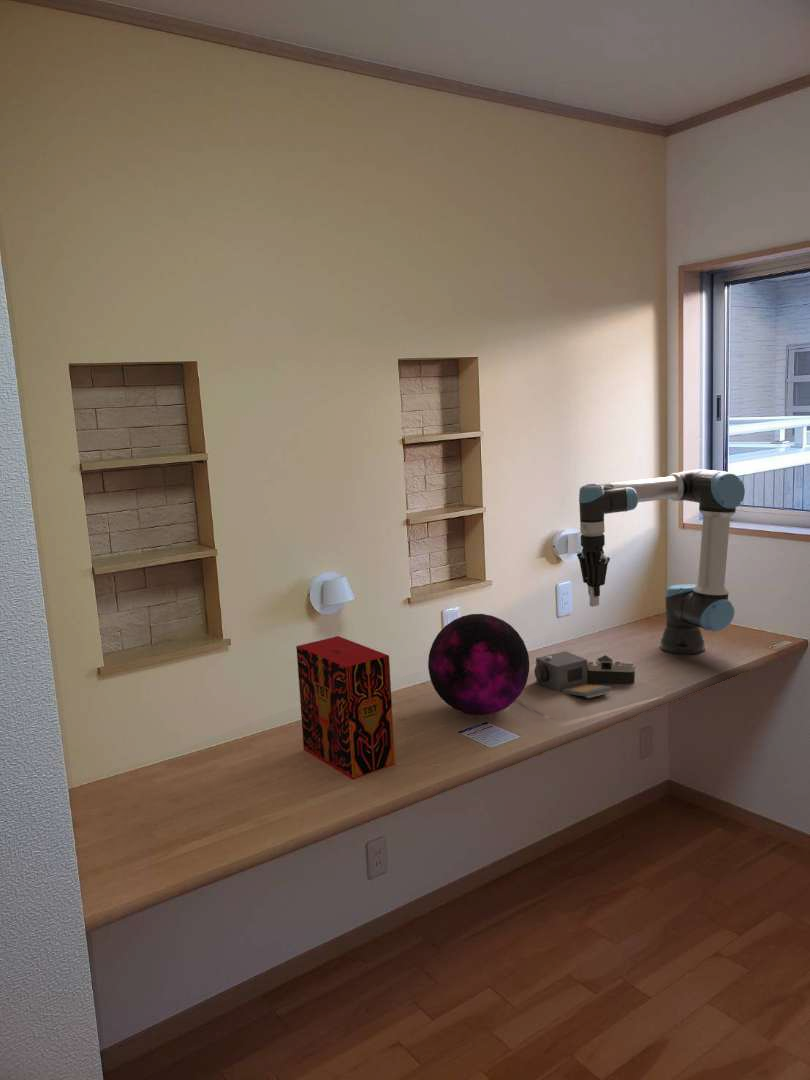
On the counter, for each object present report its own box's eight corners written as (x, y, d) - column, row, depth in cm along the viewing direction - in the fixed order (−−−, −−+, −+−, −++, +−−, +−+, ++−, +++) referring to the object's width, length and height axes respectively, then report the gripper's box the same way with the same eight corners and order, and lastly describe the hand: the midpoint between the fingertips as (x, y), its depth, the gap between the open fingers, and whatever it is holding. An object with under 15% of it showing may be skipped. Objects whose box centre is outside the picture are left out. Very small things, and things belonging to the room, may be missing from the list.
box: (303, 750, 245) (296, 646, 240) (344, 736, 253) (338, 636, 247) (352, 779, 225) (345, 667, 220) (394, 764, 233) (389, 655, 228)
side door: (585, 682, 283) (611, 686, 271) (586, 688, 283) (612, 692, 271) (560, 689, 278) (585, 693, 267) (561, 694, 278) (586, 698, 267)
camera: (632, 682, 289) (633, 652, 288) (636, 690, 280) (637, 659, 279) (582, 680, 291) (583, 651, 290) (585, 688, 282) (586, 657, 281)
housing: (565, 677, 293) (565, 648, 291) (587, 686, 283) (587, 657, 282) (532, 685, 287) (531, 656, 285) (553, 695, 277) (553, 665, 276)
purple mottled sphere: (409, 716, 266) (405, 619, 261) (472, 687, 287) (469, 598, 282) (489, 740, 246) (486, 636, 240) (550, 707, 267) (548, 611, 262)
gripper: (569, 533, 285) (572, 603, 289) (597, 538, 274) (599, 611, 278) (587, 529, 289) (589, 599, 293) (615, 534, 278) (617, 607, 282)
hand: (594, 605), depth 286 cm, fingers closed
